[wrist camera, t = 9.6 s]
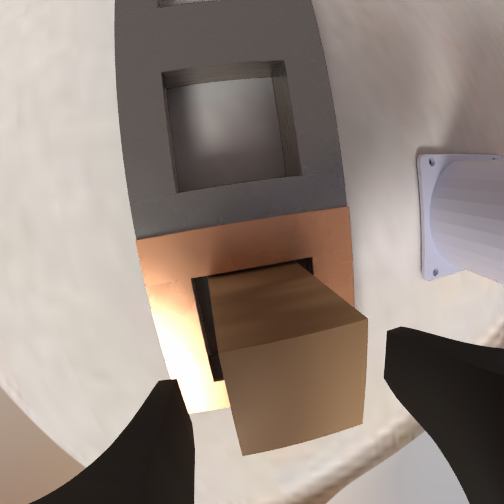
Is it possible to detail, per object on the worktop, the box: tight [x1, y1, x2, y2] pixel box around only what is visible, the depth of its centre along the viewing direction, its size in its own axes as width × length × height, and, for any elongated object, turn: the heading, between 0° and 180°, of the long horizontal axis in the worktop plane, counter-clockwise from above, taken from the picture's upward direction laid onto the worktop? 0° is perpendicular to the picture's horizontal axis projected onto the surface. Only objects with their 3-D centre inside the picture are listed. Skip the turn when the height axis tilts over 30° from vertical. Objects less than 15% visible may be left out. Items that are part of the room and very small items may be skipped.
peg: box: [208, 260, 368, 456], centre depth 13 cm, size 4×4×9 cm
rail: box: [115, 0, 354, 413], centre depth 14 cm, size 9×27×3 cm, turn 8°
